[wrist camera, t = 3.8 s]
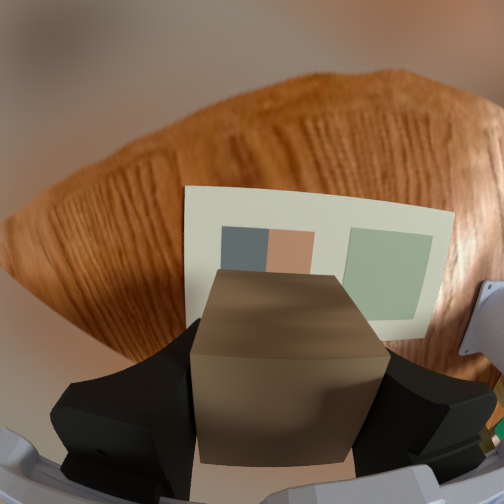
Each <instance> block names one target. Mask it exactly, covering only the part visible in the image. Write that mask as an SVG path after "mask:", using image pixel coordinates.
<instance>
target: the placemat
mask: <svg viewBox="0 0 504 504" xmlns="http://www.w3.org/2000/svg"><path fill="white" fill-rule="evenodd" d="M454 217H455V213H454V212H449V211H444V210H438V209H432V208H426V207H420V206H414V205H407V204H400V203H393V202H386V201H379V200H371V199H363V198H355V197H347V196H338V195H328V194H318V193H307V192H296V191H284V190H270V189H255V188H237V187H215V186H185V214H184V274H185V309H186V329H187V328H188V327H189V326H190V325H191V324H192V323H193V322H194V321H195V320H197V319H198V318H202V315H203V312H204V309H205V305H206V302H207V299H208V296H209V293H210V290H211V287H212V284H213V282H214V279H215V276H216V273H217V270H218V269H224V270H240V271H258V272H276V273H295V274H316V275H335V277H336V278H337V280H338V281H339V282H340V284H341V285H342V286H343V288H344V289H345V291H346V292H347V293H348V295H349V296H350V297H351V299H352V300H353V302H354V303H355V304H356V306H357V307H358V309H359V310H360V312H361V313H362V314H363V316H364V317H365V319H366V320H367V322H368V323H369V324H370V326H371V327H372V329H373V330H374V332H375V333H376V335H377V336H378V338H379V339H380V340H381V341H393V340H407V339H419V338H425V335H426V332H427V329H428V326H429V323H430V320H431V317H432V314H433V310H434V307H435V304H436V300H437V297H438V293H439V289H440V286H441V282H442V278H443V274H444V269H445V265H446V261H447V256H448V251H449V246H450V241H451V235H452V229H453V223H454Z"/></svg>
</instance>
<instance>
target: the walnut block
mask: <svg viewBox="0 0 504 504" xmlns="http://www.w3.org/2000/svg"><path fill="white" fill-rule="evenodd" d="M390 357H391V355H390V354H389V352H388V351H387V349H386V348H385V346H384V345H383V343H382V342H381V340H380V339H379V338H378V336H377V335H376V333H375V332H374V330H373V329H372V327H371V326H370V324H369V323H368V322H367V320H366V319H365V317H364V316H363V314H362V313H361V312H360V310H359V309H358V307H357V306H356V304H355V303H354V302H353V300H352V299H351V297H350V296H349V295H348V293H347V292H346V291H345V289H344V288H343V286H342V285H341V284H340V282H339V281H338V280H337V278H336V277H335V275H316V274H295V273H276V272H258V271H240V270H224V269H218V270H217V273H216V276H215V279H214V282H213V284H212V287H211V290H210V293H209V296H208V299H207V302H206V305H205V309H204V312H203V315H202V318H201V321H200V324H199V327H198V330H197V333H196V336H195V339H194V342H193V346H192V349H191V352H190V363H191V377H192V389H193V401H194V411H195V421H196V430H197V439H198V447H199V454H200V462H201V463H205V464H216V465H227V466H245V467H291V466H309V465H321V464H332V463H340V462H344V460H345V458H346V457H347V455H348V453H349V451H350V449H351V447H352V445H353V443H354V441H355V439H356V437H357V435H358V433H359V431H360V429H361V427H362V425H363V423H364V421H365V419H366V417H367V414H368V412H369V410H370V408H371V405H372V403H373V401H374V398H375V396H376V394H377V391H378V389H379V386H380V384H381V381H382V379H383V376H384V374H385V371H386V368H387V366H388V363H389V360H390Z"/></svg>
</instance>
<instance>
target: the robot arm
mask: <svg viewBox="0 0 504 504" xmlns="http://www.w3.org/2000/svg"><path fill="white" fill-rule="evenodd" d="M200 321H201V318H198V319H197V320H195V321H194V322H193V323H192V324H191V325H190V326H189V327H188V328H187V329H186V330H185V331H184V332H183V333H182V334H180V335H179V336H178V337H177V338H176V339H175V340H173V341H172V342H171V343H170V344H168V345H167V346H166V347H164V348H163V349H162V350H160V351H159V352H157V353H156V354H154V355H153V356H151V357H149V358H148V359H146V360H144V361H142V362H140V363H138V364H136V365H134V366H131V367H129V368H127V369H125V370H123V371H120V372H117V373H114V374H111V375H108V376H104V377H101V378H98V379H93V380H88V381H83V382H77V383H71V384H70V385H69V387H68V388H67V389H66V390H65V392H64V393H63V394H62V396H61V397H60V399H59V400H58V402H57V403H56V404H55V406H54V408H53V409H52V411H51V413H50V419H51V422H52V425H53V427H54V429H55V431H56V433H57V434H58V436H59V438H60V439H61V441H62V443H63V444H64V446H65V447H66V449H67V451H68V454H67V456H66V458H65V460H64V462H63V464H62V465H60V464H57V463H55V462H53V461H51V460H49V459H47V458H45V457H43V456H41V455H39V453H38V451H37V450H36V448H35V447H34V446H33V444H32V443H31V442H30V441H28V440H27V439H26V438H24V437H23V436H20V435H19V434H17V433H15V432H14V431H12V430H10V429H8V428H7V427H3V428H2V429H1V430H0V498H1V499H2V500H3V501H4V502H6V503H7V504H205V503H196V502H189V498H190V487H191V477H192V467H193V459H194V451H195V444H196V437H197V430H196V421H195V411H194V401H193V389H192V377H191V363H190V352H191V349H192V346H193V342H194V339H195V336H196V333H197V330H198V327H199V324H200ZM385 348H386V347H385ZM386 349H387V351H388V352H389V354H390V355H391V357H390V360H389V363H388V366H387V368H386V371H385V374H384V376H383V379H382V381H381V384H380V386H379V389H378V391H377V394H376V396H375V398H374V401H373V403H372V405H371V408H370V410H369V412H368V414H367V417H366V419H365V421H364V423H363V425H362V427H361V429H360V431H359V433H358V435H357V437H356V439H355V441H354V443H353V445H352V451H353V458H354V464H355V473H356V478H352V479H346V480H339V481H332V482H324V483H323V482H322V483H313V484H307V485H302V486H296V487H289V488H286V489H283V490H281V491H278V492H275V493H272V494H270V495H269V496H267V497H266V498H265V499H264V500H263V501H262V502H261V503H260V504H503V503H504V438H503V439H502V440H501V441H500V442H499V443H498V445H497V446H496V448H495V449H494V450H492V451H490V452H488V453H486V454H484V453H483V451H482V449H481V448H480V446H479V445H478V444H479V443H480V442H481V441H482V438H481V437H480V435H479V434H478V433H479V432H480V431H481V429H482V428H483V427H484V425H485V424H486V422H487V421H488V419H489V418H490V416H491V415H492V413H493V411H494V409H495V407H496V404H497V396H496V394H495V393H494V391H493V390H492V389H491V388H490V387H489V386H488V384H486V383H482V382H474V381H467V380H462V379H457V378H453V377H449V376H446V375H442V374H439V373H436V372H434V371H431V370H428V369H426V368H423V367H421V366H419V365H416V364H414V363H412V362H410V361H408V360H406V359H404V358H403V357H401V356H399V355H397V354H396V353H394V352H392V351H391V350H389V349H388V348H386ZM478 352H481V353H482V354H483V355H484V356H485V357H486V358H487V359H488V360H489V361H490V362H491V363H492V364H493V365H494V366H495V367H496V368H497V369H498V370H499V371H500V372H501V373H502V374H503V375H504V281H489V280H486V281H484V282H483V283H482V285H481V289H480V292H479V296H478V299H477V302H476V305H475V308H474V311H473V314H472V317H471V320H470V323H469V326H468V328H467V331H466V334H465V336H464V339H463V341H462V344H461V346H460V349H459V351H458V354H459V355H460V356H464V355H469V354H474V353H478Z"/></svg>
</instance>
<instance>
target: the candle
mask: <svg viewBox="0 0 504 504" xmlns="http://www.w3.org/2000/svg"><path fill="white" fill-rule="evenodd" d="M495 433H496V435H497V436H498V438H499V439H500V441H501V440H502V439H503V438H504V417H503V419H502V420H501V421H500V422H499V423H498V425H497V426H496V428H495Z"/></svg>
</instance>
